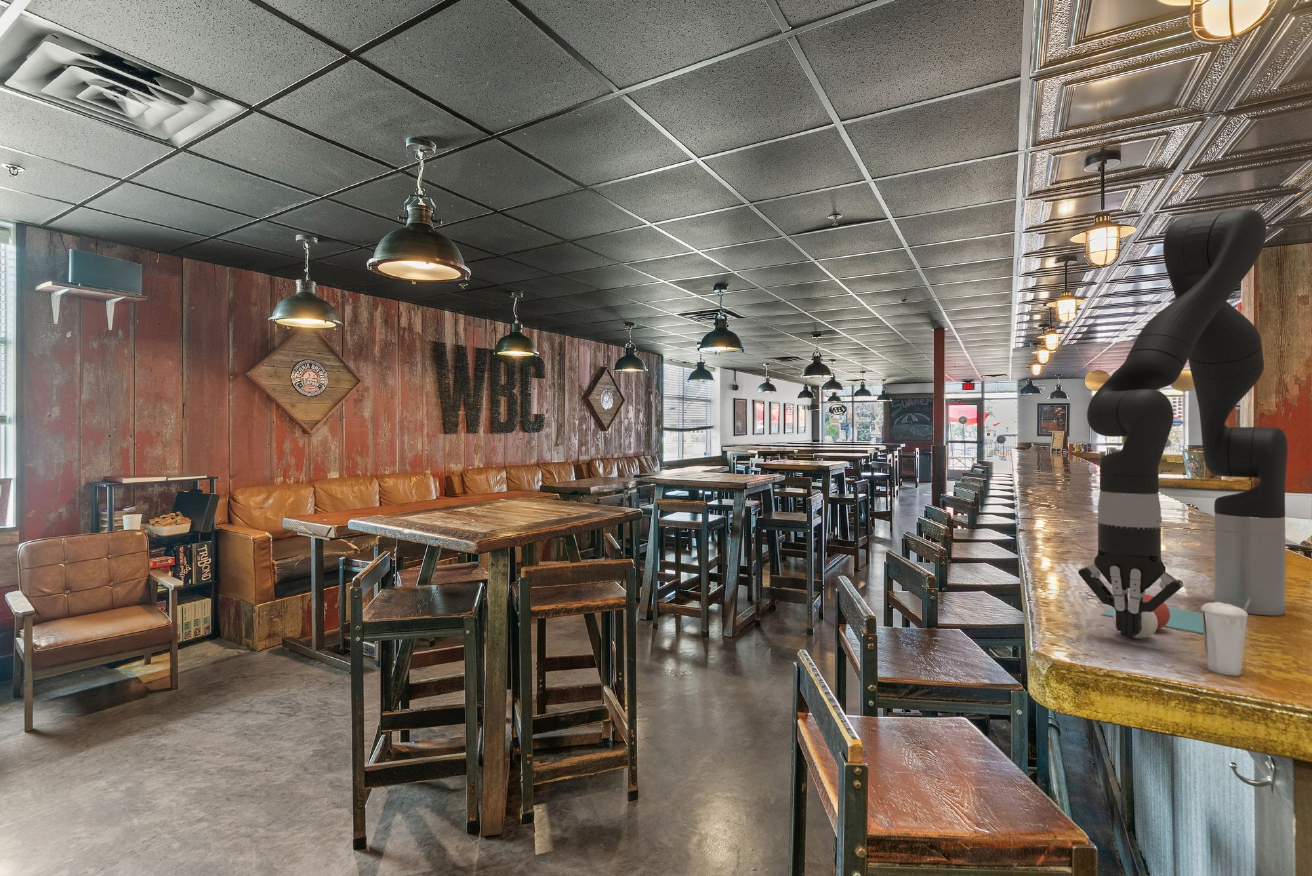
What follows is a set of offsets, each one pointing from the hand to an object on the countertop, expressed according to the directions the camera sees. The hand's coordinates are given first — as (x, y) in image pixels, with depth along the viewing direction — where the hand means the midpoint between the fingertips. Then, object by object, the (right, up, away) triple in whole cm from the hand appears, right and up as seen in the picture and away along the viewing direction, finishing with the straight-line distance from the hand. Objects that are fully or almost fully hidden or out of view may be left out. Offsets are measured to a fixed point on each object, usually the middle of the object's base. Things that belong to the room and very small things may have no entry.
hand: (1128, 635), depth 91 cm
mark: (+17, -1, +14) cm, 22 cm away
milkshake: (+5, -2, -11) cm, 12 cm away
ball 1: (+3, +1, +3) cm, 5 cm away
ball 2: (+9, +1, +7) cm, 11 cm away
